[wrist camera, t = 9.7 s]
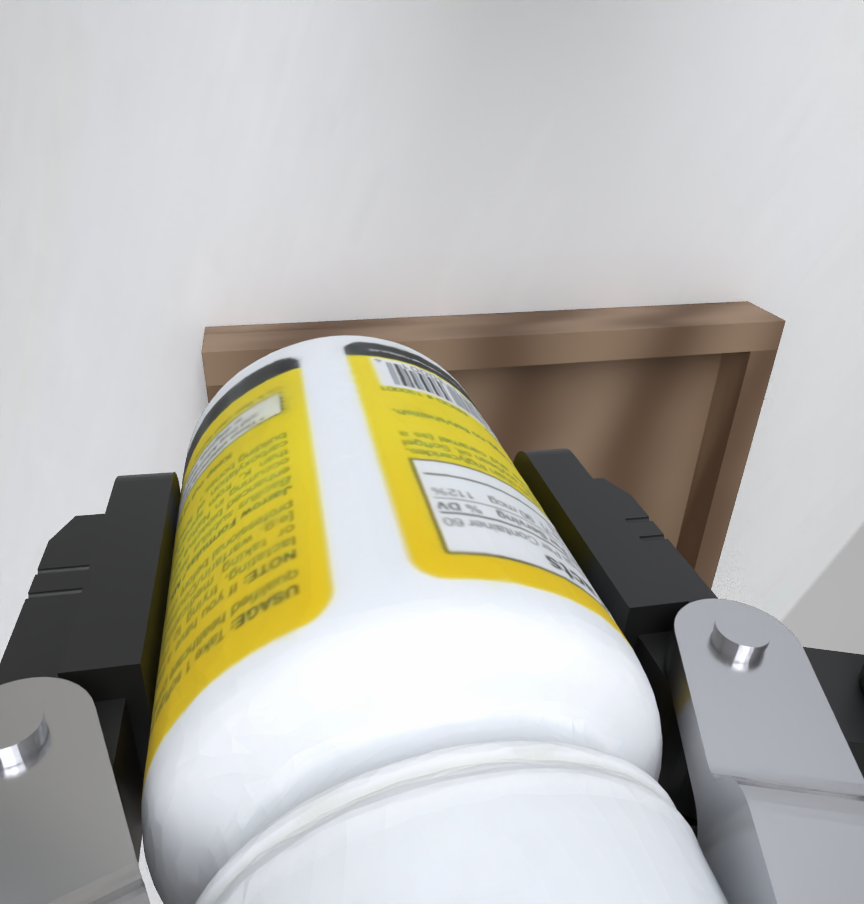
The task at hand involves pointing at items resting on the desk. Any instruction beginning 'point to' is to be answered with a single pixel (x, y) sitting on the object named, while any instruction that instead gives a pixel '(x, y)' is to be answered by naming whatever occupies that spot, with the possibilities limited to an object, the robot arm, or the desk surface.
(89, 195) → the desk surface
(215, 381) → the walnut tray
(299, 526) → the supplement bottle
